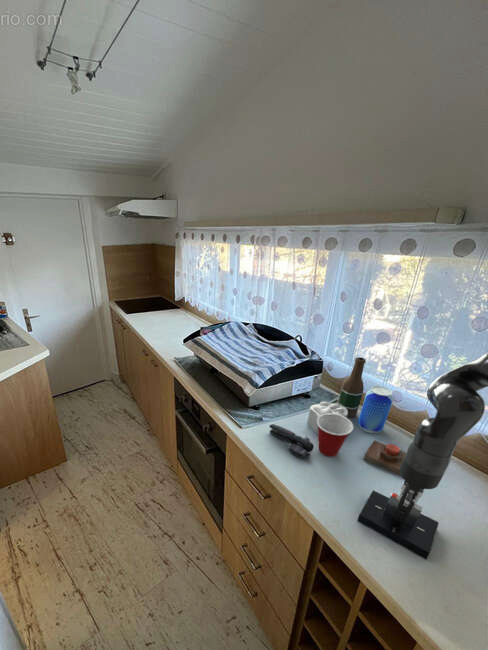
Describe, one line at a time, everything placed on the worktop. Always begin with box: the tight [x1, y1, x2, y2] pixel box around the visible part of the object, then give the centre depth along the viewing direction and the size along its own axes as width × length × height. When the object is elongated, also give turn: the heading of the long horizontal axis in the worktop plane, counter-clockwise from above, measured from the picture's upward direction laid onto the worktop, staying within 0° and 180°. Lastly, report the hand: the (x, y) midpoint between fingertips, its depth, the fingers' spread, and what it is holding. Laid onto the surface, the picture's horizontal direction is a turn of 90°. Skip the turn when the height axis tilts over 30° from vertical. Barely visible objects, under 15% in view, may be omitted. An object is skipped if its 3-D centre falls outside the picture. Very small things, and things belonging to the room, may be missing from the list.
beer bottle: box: [337, 356, 367, 419], centre depth 117 cm, size 8×8×24 cm
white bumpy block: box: [306, 401, 348, 435], centre depth 113 cm, size 10×13×9 cm
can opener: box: [269, 423, 315, 459], centre depth 105 cm, size 18×7×6 cm, turn 32°
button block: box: [362, 440, 406, 477], centre depth 98 cm, size 12×10×4 cm
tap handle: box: [384, 492, 424, 528], centre depth 75 cm, size 6×2×6 cm, turn 46°
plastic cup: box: [317, 413, 354, 458], centre depth 100 cm, size 11×11×12 cm
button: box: [385, 443, 401, 456], centre depth 97 cm, size 4×4×2 cm
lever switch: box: [356, 489, 440, 560], centre depth 77 cm, size 15×11×3 cm
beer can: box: [357, 385, 394, 434], centre depth 111 cm, size 8×8×16 cm
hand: (400, 514), depth 76 cm, fingers open, 4 cm apart
